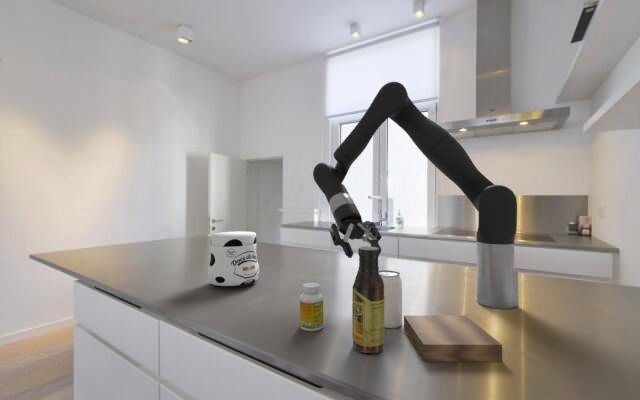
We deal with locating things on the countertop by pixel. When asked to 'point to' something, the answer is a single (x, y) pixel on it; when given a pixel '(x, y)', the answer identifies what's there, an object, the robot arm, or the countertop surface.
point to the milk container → (233, 259)
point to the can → (392, 298)
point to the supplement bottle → (311, 307)
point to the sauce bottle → (368, 303)
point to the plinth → (451, 339)
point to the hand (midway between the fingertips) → (365, 255)
